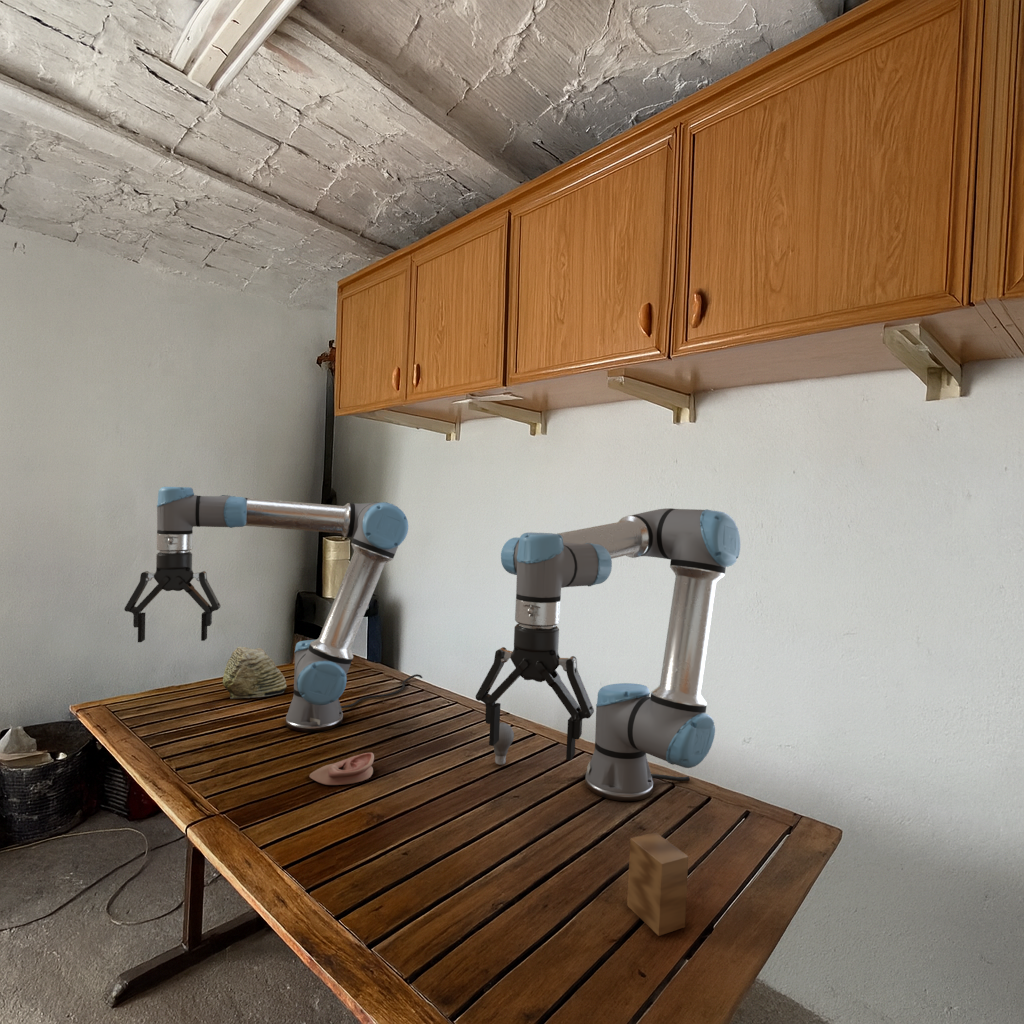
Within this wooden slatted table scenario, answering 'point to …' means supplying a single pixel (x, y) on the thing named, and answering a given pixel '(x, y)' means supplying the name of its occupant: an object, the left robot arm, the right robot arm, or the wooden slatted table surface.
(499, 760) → the light bulb
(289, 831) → the wooden slatted table surface
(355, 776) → the anatomical model
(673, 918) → the block
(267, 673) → the fossil
